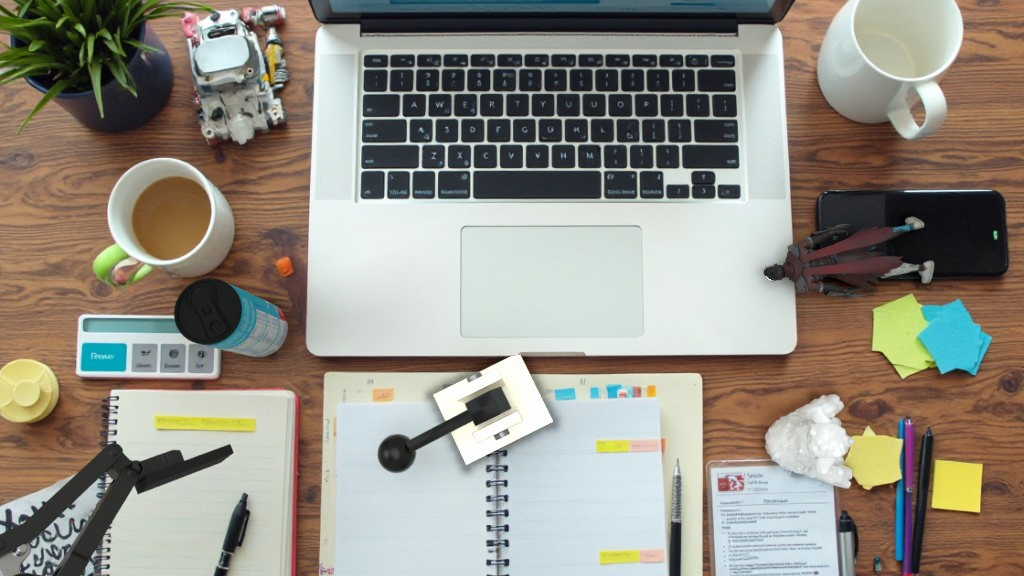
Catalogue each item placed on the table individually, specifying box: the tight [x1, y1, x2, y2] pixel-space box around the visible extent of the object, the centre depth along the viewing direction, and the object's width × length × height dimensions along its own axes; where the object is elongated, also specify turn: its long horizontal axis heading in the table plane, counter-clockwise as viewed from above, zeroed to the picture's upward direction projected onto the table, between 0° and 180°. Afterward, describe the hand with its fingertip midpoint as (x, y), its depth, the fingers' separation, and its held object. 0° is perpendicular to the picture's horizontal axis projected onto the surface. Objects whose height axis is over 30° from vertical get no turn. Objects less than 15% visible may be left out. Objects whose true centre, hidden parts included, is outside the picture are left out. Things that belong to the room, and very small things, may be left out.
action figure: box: [763, 216, 935, 301], centre depth 80 cm, size 8×6×18 cm
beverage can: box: [173, 277, 289, 358], centre depth 75 cm, size 6×6×15 cm
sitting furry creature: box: [764, 393, 855, 490], centre depth 74 cm, size 10×9×12 cm
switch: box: [377, 387, 511, 474], centre depth 70 cm, size 14×4×4 cm, turn 117°
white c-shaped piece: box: [432, 354, 554, 466], centre depth 73 cm, size 10×8×15 cm
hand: (259, 534), depth 59 cm, fingers open, 13 cm apart
